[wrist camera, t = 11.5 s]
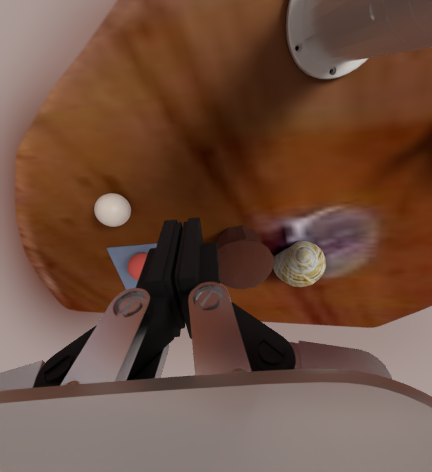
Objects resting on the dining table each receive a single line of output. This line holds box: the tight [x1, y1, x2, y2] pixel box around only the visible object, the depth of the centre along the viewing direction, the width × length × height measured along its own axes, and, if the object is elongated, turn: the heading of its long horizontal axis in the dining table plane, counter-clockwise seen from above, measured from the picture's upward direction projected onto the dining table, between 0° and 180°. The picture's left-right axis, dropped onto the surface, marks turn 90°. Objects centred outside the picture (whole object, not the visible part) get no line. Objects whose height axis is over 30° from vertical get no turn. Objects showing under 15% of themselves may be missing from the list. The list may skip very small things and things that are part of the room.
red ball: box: [127, 253, 147, 280], centre depth 44 cm, size 6×6×6 cm
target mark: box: [106, 243, 157, 290], centre depth 48 cm, size 14×14×1 cm
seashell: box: [273, 241, 326, 287], centre depth 45 cm, size 10×10×10 cm
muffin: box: [217, 226, 274, 289], centre depth 41 cm, size 12×11×10 cm
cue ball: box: [94, 193, 131, 227], centre depth 37 cm, size 6×6×6 cm
